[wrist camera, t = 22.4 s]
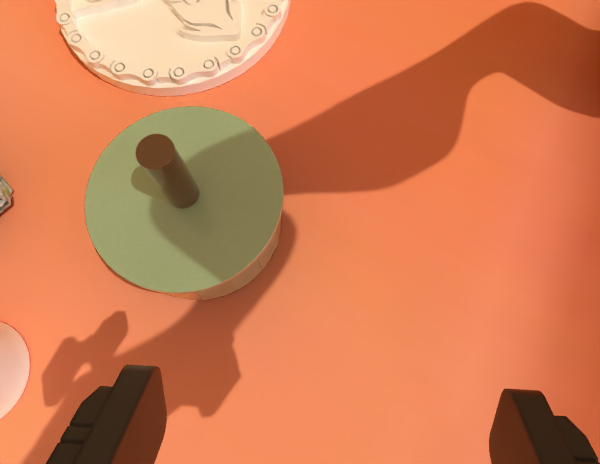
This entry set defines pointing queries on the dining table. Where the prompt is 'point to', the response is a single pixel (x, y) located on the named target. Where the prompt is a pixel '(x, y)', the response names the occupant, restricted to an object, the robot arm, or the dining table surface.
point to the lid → (184, 200)
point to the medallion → (170, 40)
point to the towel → (4, 195)
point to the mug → (12, 367)
